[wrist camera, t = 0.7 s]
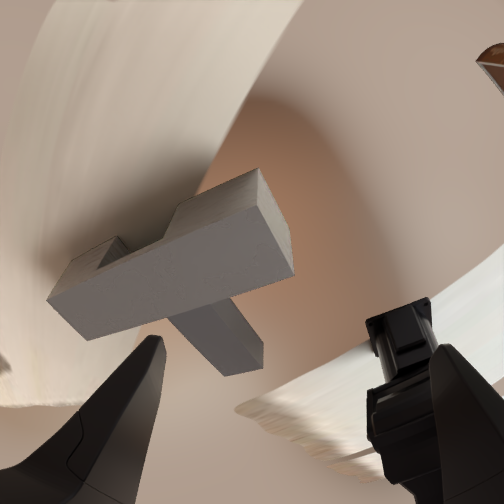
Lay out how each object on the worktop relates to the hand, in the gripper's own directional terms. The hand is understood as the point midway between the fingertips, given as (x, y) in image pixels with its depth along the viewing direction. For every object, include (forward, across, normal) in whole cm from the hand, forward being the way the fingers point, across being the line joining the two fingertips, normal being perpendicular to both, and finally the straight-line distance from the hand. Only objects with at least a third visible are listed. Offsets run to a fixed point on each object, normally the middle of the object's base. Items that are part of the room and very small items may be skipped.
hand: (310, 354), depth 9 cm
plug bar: (+14, +5, +12) cm, 19 cm away
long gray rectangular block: (+13, +9, +6) cm, 17 cm away
